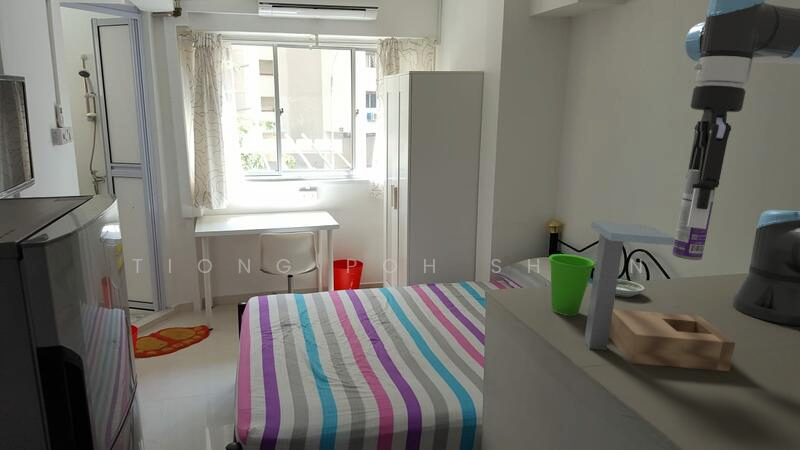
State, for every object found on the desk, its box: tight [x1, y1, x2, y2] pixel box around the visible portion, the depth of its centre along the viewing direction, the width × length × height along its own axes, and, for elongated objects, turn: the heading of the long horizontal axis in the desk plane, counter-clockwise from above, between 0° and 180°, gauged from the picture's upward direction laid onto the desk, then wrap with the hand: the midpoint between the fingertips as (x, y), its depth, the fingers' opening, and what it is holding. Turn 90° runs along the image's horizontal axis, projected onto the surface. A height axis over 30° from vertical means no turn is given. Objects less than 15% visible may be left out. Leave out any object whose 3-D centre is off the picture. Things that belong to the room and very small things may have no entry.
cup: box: [548, 253, 596, 316], centre depth 112 cm, size 9×9×11 cm
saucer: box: [615, 278, 645, 298], centre depth 128 cm, size 10×10×2 cm
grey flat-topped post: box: [583, 220, 675, 351], centre depth 94 cm, size 10×10×21 cm
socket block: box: [608, 308, 736, 372], centre depth 96 cm, size 16×12×5 cm
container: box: [671, 169, 717, 261], centre depth 95 cm, size 5×5×15 cm
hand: (693, 224), depth 95 cm, fingers closed on container, 5 cm apart
